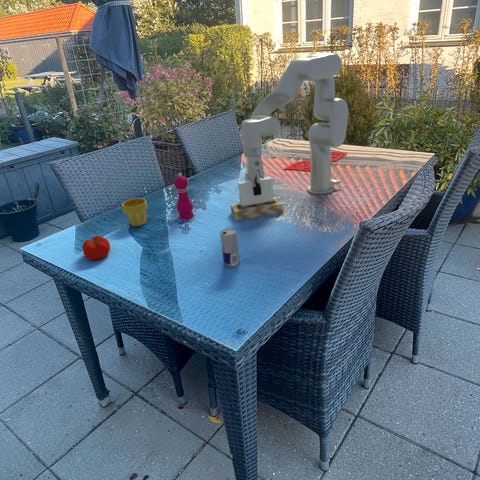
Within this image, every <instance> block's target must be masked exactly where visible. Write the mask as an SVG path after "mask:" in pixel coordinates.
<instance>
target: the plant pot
mask: <svg viewBox="0 0 480 480" xmlns="http://www.w3.org/2000/svg"><path fill="white" fill-rule="evenodd" d="M147 202H148V201H147V200H146V198H141V197H137V198H131V199H128V200H126V201H123V203H121V208H122V211H123V213H124V214H125V215H126V218H128V221H129V223H130V225H131V226H132V227H140V226H143V225H144V224H146V223H147V209H148V203H147Z"/></svg>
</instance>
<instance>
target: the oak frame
mask: <svg viewBox="0 0 480 480" xmlns="http://www.w3.org/2000/svg"><path fill="white" fill-rule="evenodd" d="M273 200H274V201H269V202H263V203H258V204H253V205H247V206H242V205H241V203H240V202H238V203H232V204H231V203H230V213H231V215H232V217H233V219H234V220H235V221H240V220H241V221H242V220H249V219H253V218H258V217H259V218H260V217H264V216H265V217H266V216H271V215H277V214H282V213H284V203H283V202H282V201H281V200H279V198H278V197H277V196H273Z"/></svg>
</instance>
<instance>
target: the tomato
mask: <svg viewBox="0 0 480 480" xmlns="http://www.w3.org/2000/svg"><path fill="white" fill-rule="evenodd" d="M110 251H111V244H110V241H109V239H108V238H106V237H103V236H102V235H96V236H93V237H92V238H91V239H85V240H84V241H83V242H82V253H83V255H84V257H85V258H86V259H88V260H91V261H96V260H101V259H104V258H105V257H107V256H108V255H109V253H110Z"/></svg>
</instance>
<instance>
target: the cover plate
mask: <svg viewBox="0 0 480 480" xmlns="http://www.w3.org/2000/svg"><path fill="white" fill-rule="evenodd" d="M260 180H261V195H256V196H254V192H253V186H254V183H253V180H247V181H246V180H242V181H238V182H237V183H238V192H239V201H240V202H239V203H241V205H242V206H247V205H253V204H258V203H263V202H269V201H274V200H273V197H274V190H273V189H274V188H273V186H274V185H273V178H272V177H271V176H264V179H262V178H260ZM256 182H257V181H255V183H256Z"/></svg>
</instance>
